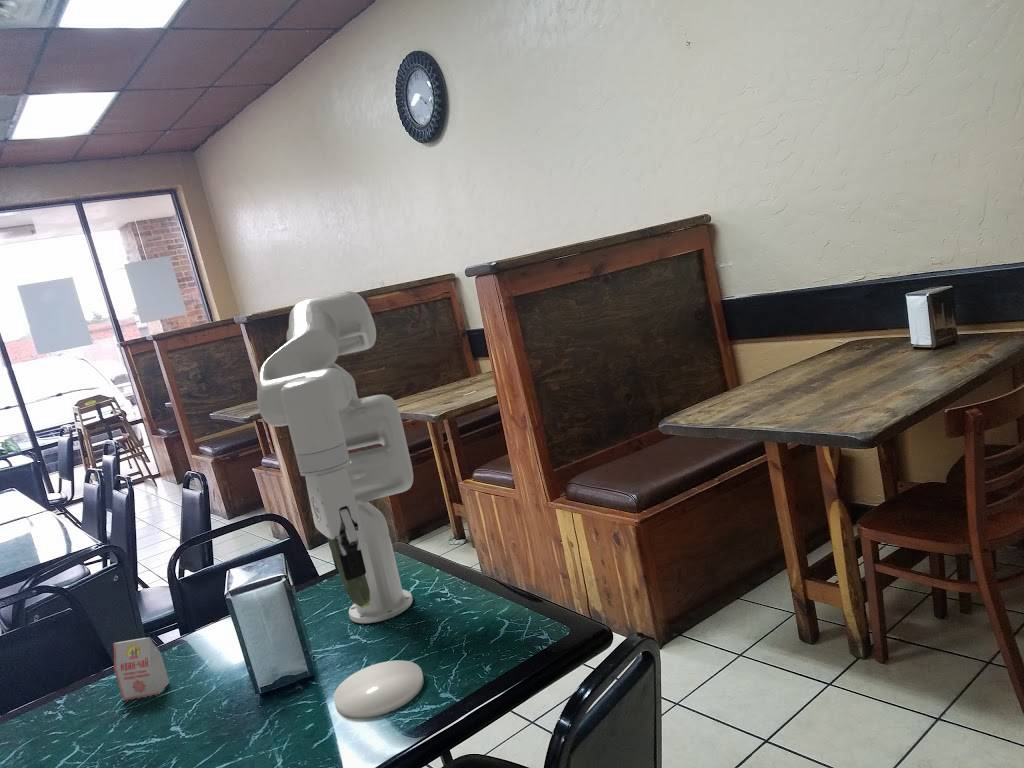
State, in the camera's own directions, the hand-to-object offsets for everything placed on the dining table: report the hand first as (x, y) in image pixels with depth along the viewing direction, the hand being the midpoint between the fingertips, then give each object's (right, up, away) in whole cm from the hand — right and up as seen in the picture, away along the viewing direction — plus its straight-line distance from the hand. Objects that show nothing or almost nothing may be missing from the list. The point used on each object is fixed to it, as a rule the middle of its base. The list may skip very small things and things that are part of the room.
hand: (350, 571), depth 120 cm
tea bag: (-40, -26, +19) cm, 52 cm away
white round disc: (+4, -19, +3) cm, 20 cm away
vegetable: (+1, -6, +1) cm, 7 cm away
